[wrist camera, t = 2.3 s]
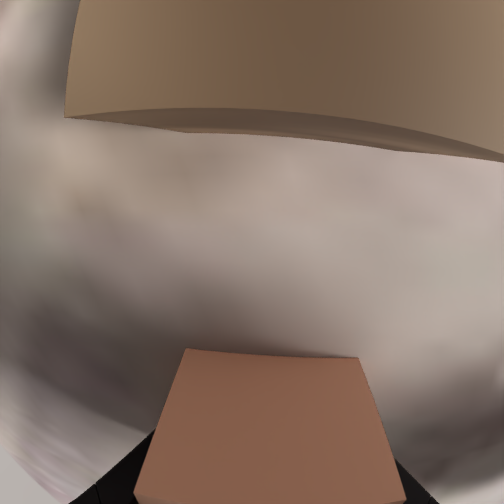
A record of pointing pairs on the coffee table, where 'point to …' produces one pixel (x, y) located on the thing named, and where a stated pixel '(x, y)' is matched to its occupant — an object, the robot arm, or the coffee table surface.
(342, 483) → the terracotta block
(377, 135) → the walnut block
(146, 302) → the coffee table surface
